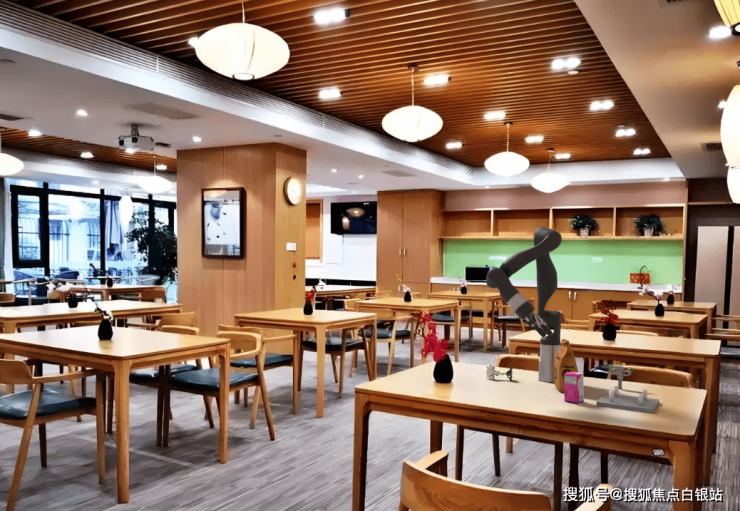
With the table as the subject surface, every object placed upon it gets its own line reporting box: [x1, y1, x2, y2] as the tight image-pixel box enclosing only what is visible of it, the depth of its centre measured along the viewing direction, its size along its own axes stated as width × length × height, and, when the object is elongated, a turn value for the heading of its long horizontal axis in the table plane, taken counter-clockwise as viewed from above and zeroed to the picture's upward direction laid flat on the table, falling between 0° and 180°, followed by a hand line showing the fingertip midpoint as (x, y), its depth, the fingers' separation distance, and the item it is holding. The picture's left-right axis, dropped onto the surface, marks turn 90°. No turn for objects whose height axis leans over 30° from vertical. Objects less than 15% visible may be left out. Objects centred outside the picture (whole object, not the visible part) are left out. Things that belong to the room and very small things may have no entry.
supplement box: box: [563, 372, 585, 405], centre depth 238 cm, size 6×6×12 cm
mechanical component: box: [607, 364, 634, 390], centre depth 264 cm, size 3×10×10 cm, turn 53°
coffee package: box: [554, 338, 579, 393], centre depth 259 cm, size 10×12×22 cm
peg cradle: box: [595, 385, 660, 414], centre depth 235 cm, size 20×20×6 cm
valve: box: [485, 364, 513, 382], centre depth 282 cm, size 7×7×12 cm
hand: (548, 335), depth 244 cm, fingers open, 8 cm apart
